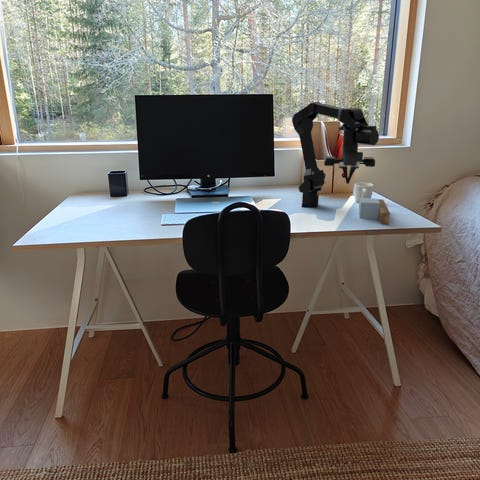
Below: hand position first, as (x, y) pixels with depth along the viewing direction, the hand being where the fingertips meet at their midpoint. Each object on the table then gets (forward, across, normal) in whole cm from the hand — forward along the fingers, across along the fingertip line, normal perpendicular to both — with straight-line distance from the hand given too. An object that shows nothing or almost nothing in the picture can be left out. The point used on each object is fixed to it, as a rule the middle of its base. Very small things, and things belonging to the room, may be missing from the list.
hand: (347, 183), depth 166 cm
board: (+13, +14, 0) cm, 19 cm away
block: (+13, +9, 0) cm, 16 cm away
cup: (+13, +8, +20) cm, 26 cm away
